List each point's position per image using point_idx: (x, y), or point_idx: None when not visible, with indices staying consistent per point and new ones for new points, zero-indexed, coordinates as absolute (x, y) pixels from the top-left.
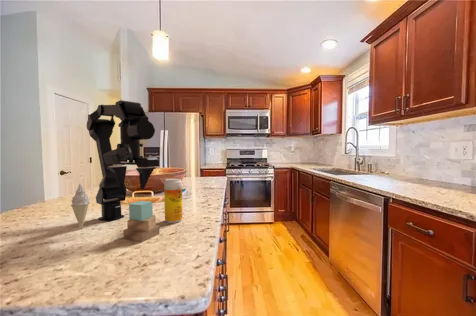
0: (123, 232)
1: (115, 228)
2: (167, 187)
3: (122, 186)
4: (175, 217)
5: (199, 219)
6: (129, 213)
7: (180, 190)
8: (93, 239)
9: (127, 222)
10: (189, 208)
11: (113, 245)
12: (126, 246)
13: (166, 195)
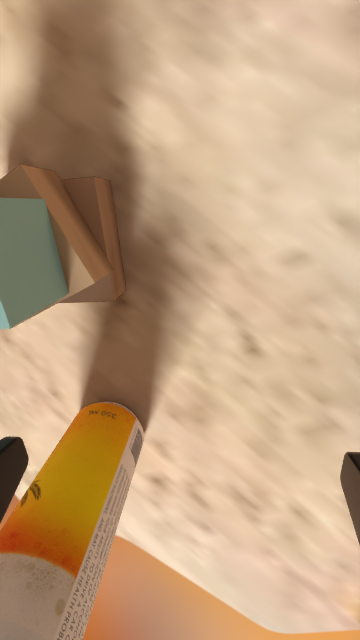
0: (98, 178)
1: (272, 264)
2: (3, 575)
3: (344, 483)
4: (72, 422)
5: (45, 462)
6: (18, 198)
7: None
8: (238, 94)
9: (26, 166)
10: (181, 552)
11: (74, 94)
12: (16, 119)
13: (50, 512)
